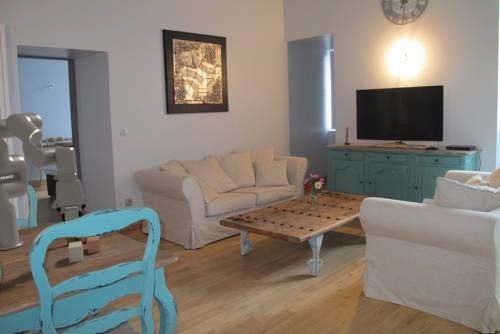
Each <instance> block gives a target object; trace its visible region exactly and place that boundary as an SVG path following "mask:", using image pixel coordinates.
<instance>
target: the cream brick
mask: <svg viewBox="0 0 500 334" xmlns="http://www.w3.org/2000/svg"><path fill="white" fill-rule="evenodd" d="M67 249H68V257H69V259H70V263H69V264H72V263H71V262H74V263H78V262H77V261H81V262H84V261H83V254H84V247H83V244H82V241H79V242H72V243H69V245H68V247H67Z"/></svg>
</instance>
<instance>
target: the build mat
mask: <svg viewBox="0 0 500 334" xmlns="http://www.w3.org/2000/svg"><path fill="white" fill-rule="evenodd" d="M86 261H87V253H85V254H84V253H83V261H77V262H76V263H81V262H86ZM73 263H75V262H71V263H70V259H69V256H67V260H66V264H73Z"/></svg>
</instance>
